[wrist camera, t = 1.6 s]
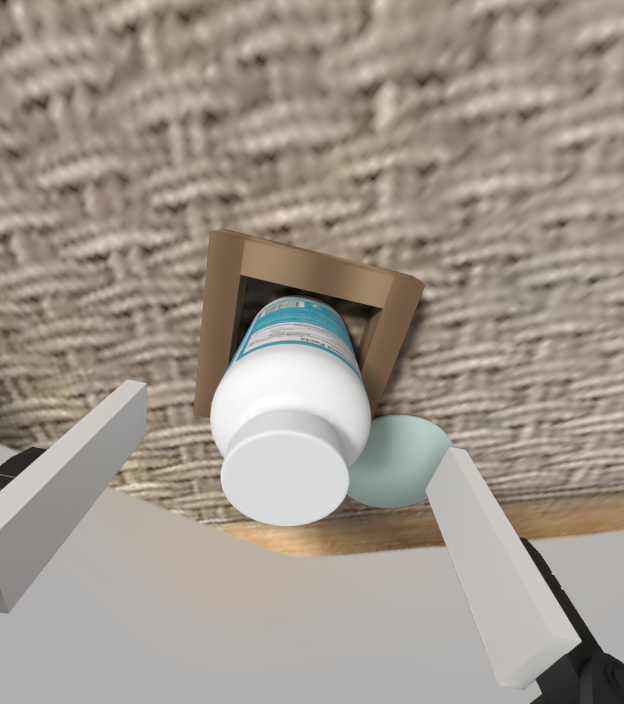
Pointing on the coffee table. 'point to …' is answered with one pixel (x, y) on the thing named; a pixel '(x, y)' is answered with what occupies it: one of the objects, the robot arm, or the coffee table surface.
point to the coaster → (397, 461)
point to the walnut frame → (308, 274)
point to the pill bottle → (291, 414)
